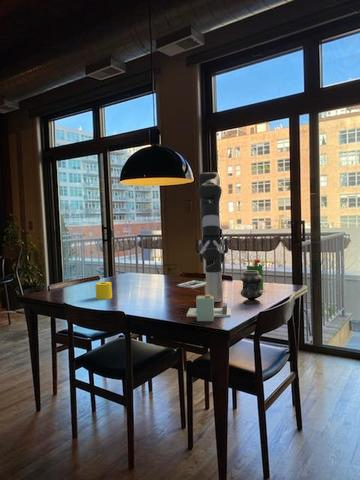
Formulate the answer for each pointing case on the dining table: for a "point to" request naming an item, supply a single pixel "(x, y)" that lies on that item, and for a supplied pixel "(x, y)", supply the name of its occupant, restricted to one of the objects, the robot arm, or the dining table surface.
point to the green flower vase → (257, 268)
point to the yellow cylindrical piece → (103, 290)
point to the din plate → (217, 311)
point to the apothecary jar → (251, 287)
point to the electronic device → (187, 284)
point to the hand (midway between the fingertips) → (212, 262)
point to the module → (205, 308)
